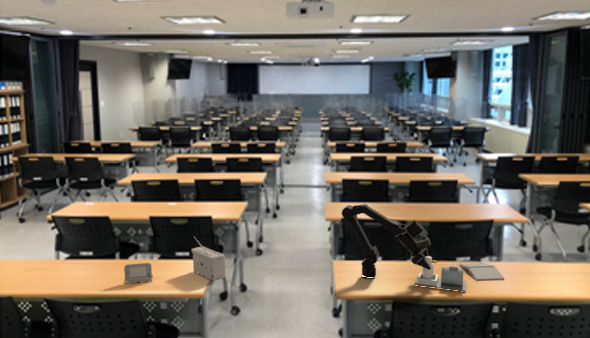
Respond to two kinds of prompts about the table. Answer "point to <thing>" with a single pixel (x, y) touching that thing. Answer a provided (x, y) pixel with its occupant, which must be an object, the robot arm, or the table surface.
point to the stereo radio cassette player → (208, 263)
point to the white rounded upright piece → (429, 273)
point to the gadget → (482, 271)
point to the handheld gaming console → (138, 273)
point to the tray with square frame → (445, 279)
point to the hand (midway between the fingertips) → (431, 266)
